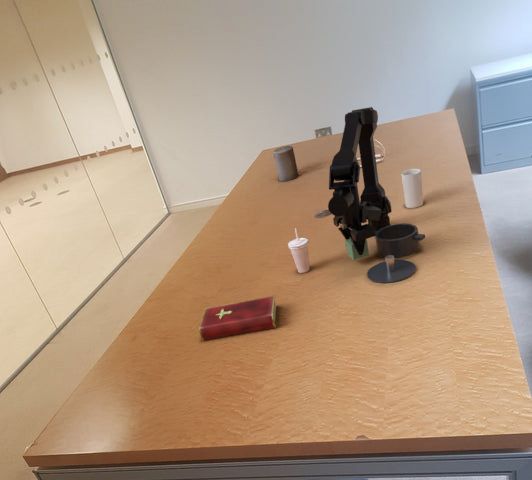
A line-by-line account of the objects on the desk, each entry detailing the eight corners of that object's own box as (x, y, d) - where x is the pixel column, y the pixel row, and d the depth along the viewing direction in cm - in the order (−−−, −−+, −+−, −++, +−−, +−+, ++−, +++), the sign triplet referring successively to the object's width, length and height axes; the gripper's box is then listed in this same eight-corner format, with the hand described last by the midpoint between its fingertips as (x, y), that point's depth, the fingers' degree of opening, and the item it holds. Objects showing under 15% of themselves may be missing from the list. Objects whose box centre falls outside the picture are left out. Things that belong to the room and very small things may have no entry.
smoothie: (316, 264, 180) (307, 223, 173) (310, 274, 175) (302, 232, 168) (297, 266, 182) (288, 225, 175) (291, 275, 178) (282, 234, 170)
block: (347, 255, 173) (345, 240, 170) (362, 250, 173) (360, 235, 171) (353, 260, 169) (351, 245, 166) (369, 255, 169) (366, 239, 167)
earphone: (388, 153, 251) (353, 133, 248) (367, 185, 260) (334, 166, 258) (387, 145, 262) (354, 126, 259) (368, 176, 271) (336, 158, 269)
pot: (414, 263, 165) (412, 242, 161) (362, 257, 177) (359, 238, 173) (434, 244, 172) (433, 225, 168) (384, 240, 183) (381, 221, 180)
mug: (423, 207, 199) (420, 173, 193) (403, 209, 202) (400, 176, 195) (425, 197, 206) (423, 164, 200) (407, 199, 209) (403, 167, 203)
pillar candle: (302, 173, 270) (296, 142, 263) (292, 181, 264) (285, 148, 256) (285, 174, 276) (278, 143, 268) (275, 182, 270) (268, 150, 262)
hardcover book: (276, 328, 152) (272, 315, 150) (202, 341, 156) (197, 328, 154) (278, 307, 162) (274, 294, 160) (208, 319, 166) (204, 307, 164)
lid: (400, 288, 154) (398, 270, 151) (358, 281, 163) (355, 265, 161) (424, 265, 162) (423, 248, 159) (383, 260, 171) (381, 244, 168)
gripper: (389, 202, 155) (395, 253, 163) (362, 187, 171) (369, 235, 179) (352, 214, 154) (360, 265, 162) (328, 198, 170) (337, 245, 178)
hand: (357, 252), depth 170 cm, fingers closed on block, 5 cm apart
